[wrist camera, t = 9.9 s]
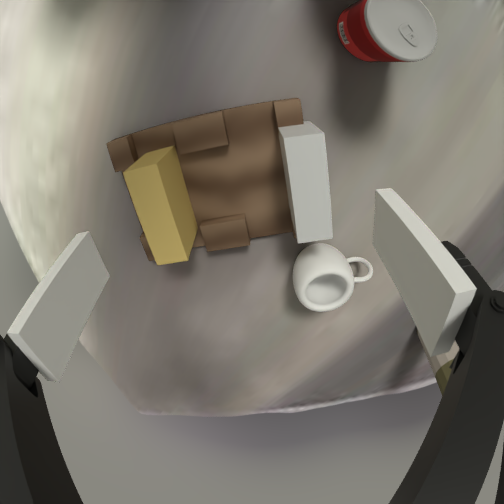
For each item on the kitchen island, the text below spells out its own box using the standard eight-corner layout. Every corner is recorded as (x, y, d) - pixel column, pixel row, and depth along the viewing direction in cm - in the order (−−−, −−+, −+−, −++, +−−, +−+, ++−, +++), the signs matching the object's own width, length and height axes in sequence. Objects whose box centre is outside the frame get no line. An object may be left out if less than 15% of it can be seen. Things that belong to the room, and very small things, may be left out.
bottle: (436, 331, 57) (486, 445, 31) (410, 336, 57) (456, 459, 32) (445, 308, 53) (505, 429, 28) (418, 313, 53) (474, 444, 28)
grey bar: (276, 125, 34) (283, 138, 28) (309, 120, 34) (324, 133, 27) (290, 212, 41) (297, 243, 34) (319, 208, 40) (332, 238, 34)
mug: (291, 283, 48) (296, 318, 42) (287, 238, 44) (293, 270, 37) (362, 274, 48) (377, 307, 41) (366, 229, 43) (385, 259, 36)
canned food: (372, 74, 31) (414, 77, 22) (322, 34, 28) (349, 20, 19) (403, 36, 27) (450, 30, 18) (355, -5, 25) (391, -27, 16)
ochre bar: (198, 227, 42) (188, 260, 35) (171, 232, 42) (157, 265, 36) (174, 145, 35) (156, 163, 29) (146, 153, 36) (122, 172, 29)
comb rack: (114, 139, 35) (106, 143, 33) (296, 97, 33) (300, 99, 31) (153, 251, 45) (149, 261, 43) (312, 225, 43) (316, 234, 40)
